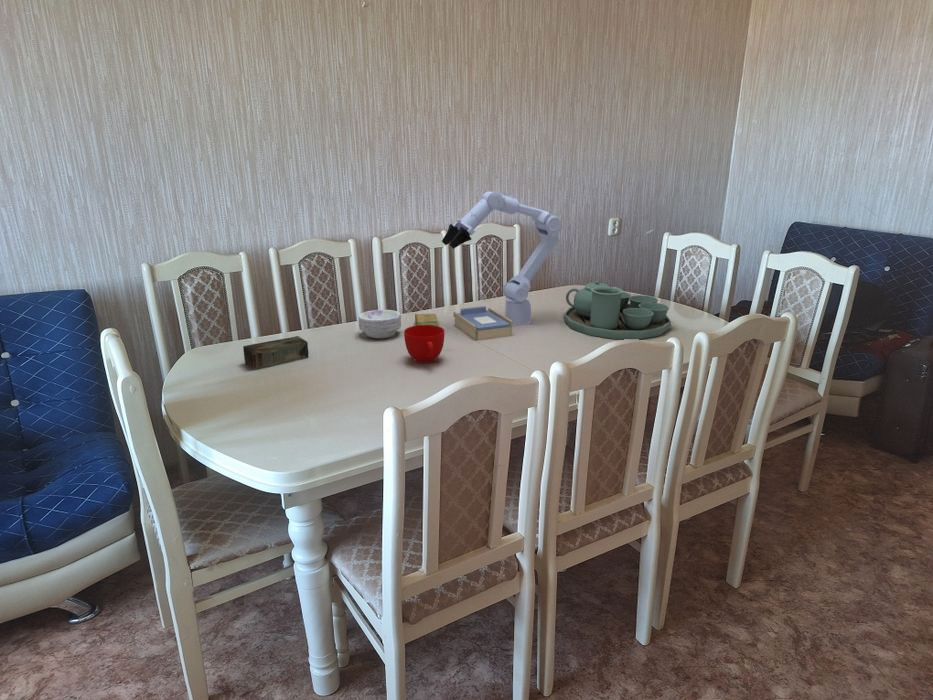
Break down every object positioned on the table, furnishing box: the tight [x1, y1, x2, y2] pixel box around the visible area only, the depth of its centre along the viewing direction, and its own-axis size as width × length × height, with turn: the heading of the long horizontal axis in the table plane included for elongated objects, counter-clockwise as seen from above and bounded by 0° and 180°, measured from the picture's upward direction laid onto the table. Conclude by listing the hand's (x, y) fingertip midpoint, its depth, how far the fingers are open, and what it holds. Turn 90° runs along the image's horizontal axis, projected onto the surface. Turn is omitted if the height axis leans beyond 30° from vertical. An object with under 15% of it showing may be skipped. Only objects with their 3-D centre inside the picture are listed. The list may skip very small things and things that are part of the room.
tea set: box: [563, 280, 672, 340], centre depth 230 cm, size 40×40×16 cm
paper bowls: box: [358, 309, 402, 340], centre depth 218 cm, size 15×15×8 cm
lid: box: [457, 305, 510, 330], centre depth 222 cm, size 13×20×3 cm, turn 23°
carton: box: [414, 313, 440, 327], centre depth 226 cm, size 8×16×4 cm, turn 8°
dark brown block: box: [243, 335, 310, 371], centre depth 193 cm, size 8×19×7 cm, turn 128°
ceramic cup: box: [403, 324, 445, 364], centre depth 192 cm, size 13×17×10 cm
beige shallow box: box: [452, 307, 514, 341], centre depth 222 cm, size 15×20×6 cm
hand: (447, 244), depth 213 cm, fingers open, 7 cm apart
